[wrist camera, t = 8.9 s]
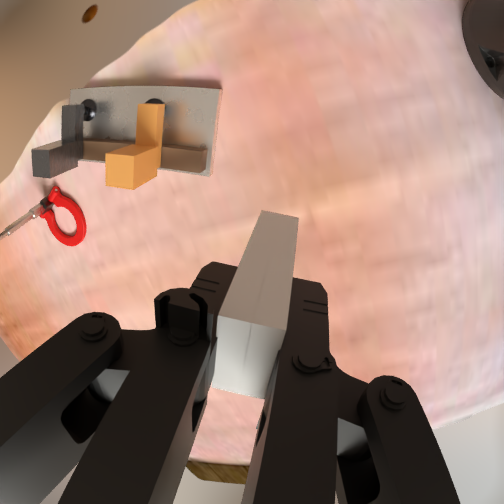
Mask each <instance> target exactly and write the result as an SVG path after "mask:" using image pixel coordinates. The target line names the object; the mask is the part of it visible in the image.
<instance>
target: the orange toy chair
mask: <svg viewBox="0 0 504 504" xmlns="http://www.w3.org/2000/svg"><path fill="white" fill-rule="evenodd" d="M165 114H166V109H165V104H151V103H143V104H138V110H137V124H136V142H135V144H131V145H128V146H125V147H122V148H119V149H117V150H114V151H111V152H108V153H106V156H105V167H106V186H111V187H117V188H124V189H131V190H134V189H136V188H137V187H139V186H141V185H142V184H144V183H146V182H148V181H149V180H151V179H153V178H154V177H156V176H157V168H159V167H160V164H161V147H162V133H163V121H164V115H165Z"/></svg>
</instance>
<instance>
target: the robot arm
mask: <svg viewBox="0 0 504 504" xmlns="http://www.w3.org/2000/svg"><path fill="white" fill-rule="evenodd" d="M463 34H464V39H465V43H466V47H467V50H468V52H469V55H470V57H471V59H472V62H473V64H474V65H475V67H476V69H477V71H478V72H479V74H480V75H481V77H482V78H483V80H484V81H485V82H486V83H487V85H488V86H489V87H490V88H491V89H492V90H493V91H494V92H495V93H496V94H497V95H499V96H500V97H501V98H503V99H504V0H470V1H469V2H468V4H467V5H466V7H465V10H464V14H463ZM298 220H299V218H297V217H293V216H288V215H283V214H278V213H273V212H268V211H263V210H262V211H261V213H260V216H259V218H258V220H257V223H256V225H255V228H254V230H253V232H252V235H251V237H250V240H249V242H248V244H247V247H246V249H245V251H244V254H243V256H242V259H241V261H240V263H239V266H238V267H236V266H232V265H227V264H223V263H218V262H211V263H209V264H208V265H206V266H204V267H203V268H202V269H201V270H200V272H199V274H198V275H197V277H196V279H195V280H194V282H193V284H192V286H191V287H190V289H188V288H176V289H169V290H167V291H165V292H162V293H160V294H159V295H158V296H157V297H156V298H155V299H154V306H155V320H156V328H155V329H151V330H124V329H121V327H120V325H119V322H118V321H117V320H116V319H115V318H114V317H113V316H111V315H109V314H106V313H102V312H92V313H87V314H84V315H82V316H80V317H78V318H76V319H75V320H74V321H72V322H71V323H70V324H68V325H67V326H66V327H64V328H63V329H62V330H60V331H59V332H58V333H56V334H55V335H54V336H52V337H51V338H50V339H49V340H47V341H46V342H45V343H43V344H42V345H41V346H40V347H38V348H37V349H36V350H34V351H33V352H32V353H31V354H29V355H28V356H27V357H26V358H24V359H23V360H22V361H21V362H19V363H18V364H17V365H16V366H14V367H13V368H12V369H11V370H9V371H8V372H7V373H6V374H5V375H3V376H2V377H1V378H0V504H40V503H41V502H42V501H43V499H44V498H45V497H46V496H47V495H48V494H49V493H50V492H51V491H52V490H53V489H54V488H55V487H56V486H57V485H58V484H59V483H60V482H61V481H62V480H63V478H64V477H65V476H66V475H67V474H68V473H69V472H70V471H71V470H72V469H73V468H74V467H75V466H76V465H77V464H78V465H77V467H76V469H75V471H74V473H73V474H72V476H71V479H70V480H69V482H68V484H67V486H66V488H65V490H64V492H63V494H62V496H61V498H60V500H59V502H58V504H173V501H174V498H175V495H176V492H177V489H178V486H179V484H180V481H181V478H182V475H183V472H184V469H185V466H186V463H187V460H188V457H189V454H190V452H191V449H192V446H193V443H194V440H195V437H196V434H197V431H198V428H199V425H200V422H201V419H202V416H203V413H204V410H205V407H206V405H207V394H208V391H209V388H210V385H211V382H212V387H213V388H217V389H221V390H225V391H229V392H233V393H237V394H242V395H246V396H251V397H256V398H260V399H265V402H264V407H263V410H262V412H261V415H260V418H259V421H258V424H257V427H256V429H258V430H257V434H256V439H255V444H254V449H253V453H252V458H251V463H250V467H249V472H248V476H247V481H246V485H245V489H244V494H243V499H242V502H241V504H335V491H336V494H337V498H338V503H339V504H460V501H459V498H458V495H457V493H456V490H455V487H454V484H453V481H452V479H451V476H450V473H449V471H448V468H447V466H446V463H445V460H444V458H443V455H442V453H441V450H440V448H439V445H438V443H437V440H436V438H435V436H434V434H433V431H432V429H431V426H430V424H429V422H428V419H427V417H426V415H425V413H424V410H423V408H422V406H421V404H420V402H419V400H418V397H417V395H416V393H415V392H414V390H413V389H412V387H411V386H410V385H409V384H407V383H406V382H405V381H404V380H402V379H400V378H397V377H394V376H386V375H383V376H380V377H376V378H375V379H373V380H372V381H371V382H370V383H369V384H368V383H366V382H364V381H361V380H359V379H356V378H354V377H352V376H350V375H348V374H346V373H344V372H343V371H342V370H341V369H339V368H338V367H337V365H336V361H335V359H334V357H333V356H332V355H331V353H330V350H329V320H328V307H327V306H328V297H327V292H326V291H325V289H324V288H323V286H322V285H321V283H318V282H313V281H308V280H303V279H298V278H294V277H293V270H294V260H295V251H296V241H297V231H298Z"/></svg>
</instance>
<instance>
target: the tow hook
mask: <svg viewBox="0 0 504 504" xmlns="http://www.w3.org/2000/svg"><path fill="white" fill-rule="evenodd" d="M54 204H55V205H56V206H57V207H65V208H66V209H68V210H69V211H70V212H71V213H72V215H73V216H74V218H75V220H76V224H77V231H76V234H75V235H74V236H67V235H65V234H64V233H62V232H61V231H60V229H59V228H58V226H57V224H56V222H55V215H54V213H53V212H52V211H51V208H52V206H53V205H54ZM38 216H40V217H41V218H45V219H46V221H47V223H48V226H49V228H50V230H51V232H52V234H53V235H54V236H55V237H56V238H57V239H58V240H59V241H60V242H61V243H63V244H65V245H67V246H76V245H78V244H79V243H80V242H82V241H83V239H84V237H85V234H86V222H85V218H84V215H83V213H82V211H81V210H80V208H79V206H78V205H77V204H76V203H75V202H74V201H72V200H71V199H70V198H67V197H65V196H62V194H61V193H60V189H59V188H58V187H56V186H55V187H53V189H52V190H51V192H50V194H49V196H47V197H46V198H44V199H42V200H41V201H40V203H39V204H38V205H36V206H34V207H33V208H31V209H30V210H29V212H28V213H27V214H25V215H24V216H22V217H21V218H19V219H18V220H16V221H15V222H13V223H12V224H11V225H9V226H8V227H6V228H5V231H3V232H2V233H1V234H0V240H1V239H3V238H4V237H5V236H7V235H8V236H9V235H10V234H12V233H13V232H14V231H16V230H17V229H19V228H20V227H21V226H23V225H24V224H25V223H27V222H28V221H30V220H31V219H35V218H37V217H38Z"/></svg>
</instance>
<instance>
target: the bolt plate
mask: <svg viewBox="0 0 504 504" xmlns="http://www.w3.org/2000/svg"><path fill="white" fill-rule="evenodd" d="M221 97H222V89H211V88H197V87H178V86H113V87H94V88H81V89H71V91H70V105H71V104H84V106H87V107H88V109H89V111H88V114H87V115H84V120H83V159H81V160H78V161H89V162H100V163H105V156H106V153H108V152H111V151H114V150H117V149H119V148H122V147H125V146H128V145H131V144H135V142H136V124H137V110H138V104H143V103H151V104H165V109H166V114H165V115H164V121H163V133H162V147H161V164H160V167H159V168H157V169H160V170H167V171H175V172H182V173H188V174H195V175H201V176H208V177H210V176H211V175H212V173H213V163H214V154H215V145H216V137H217V129H218V121H219V113H220V105H221Z"/></svg>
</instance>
